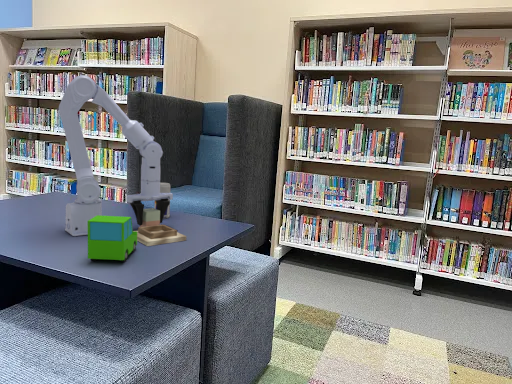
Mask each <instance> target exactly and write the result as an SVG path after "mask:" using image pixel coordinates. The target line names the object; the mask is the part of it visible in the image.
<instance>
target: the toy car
mask: <svg viewBox="0 0 512 384" xmlns="http://www.w3.org/2000/svg"><path fill="white" fill-rule="evenodd" d="M133 231H134V230H133V221H132V216H121V215H120V216H119V215H118V216H116V215H102V216H99V215H97V216H95V217H94V218H92V219H90V220H88V234H87V260H90V261H94V262H95V261H97V260H111V261H113V260H115V261H120V262H121V263H125V262H127V260H128V256H129V255H130V254H131V253H135V252H136V247H137V245H138V241H137V232H133Z"/></svg>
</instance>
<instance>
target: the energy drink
mask: <svg viewBox="0 0 512 384" xmlns="http://www.w3.org/2000/svg"><path fill="white" fill-rule="evenodd" d="M160 193H171V184H170V183H168V182H160ZM168 201H170V202H171V200H169V199H168ZM153 208H154V209H157V205H156V200H154V206H153ZM170 213H171V203H170V204H169V206H168V208H167V209H166V212H165V214H164V217H163V220H165V219H169V218H170V216H171V214H170Z"/></svg>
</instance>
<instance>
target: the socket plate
mask: <svg viewBox="0 0 512 384" xmlns="http://www.w3.org/2000/svg"><path fill="white" fill-rule="evenodd" d="M133 232H137V242H139V243H141V244H142V245H144V246H146V247H150V246H151V247H152V246H158V245H163V244H164V245H166V244H171V243H178V242H184V241H187V235H185V234H182V233H180V232H178V230H177V229H175V228H172V227H170V226H167V225H166V224H160V225H155V226H146V227H140V226H138V228H137V230H133Z"/></svg>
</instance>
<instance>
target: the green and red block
mask: <svg viewBox="0 0 512 384" xmlns="http://www.w3.org/2000/svg"><path fill="white" fill-rule="evenodd" d="M155 225H161V223H160V210H157V209H154V207H151V208H144V209H143V223H142V225H139V227H146V226H155Z"/></svg>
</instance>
